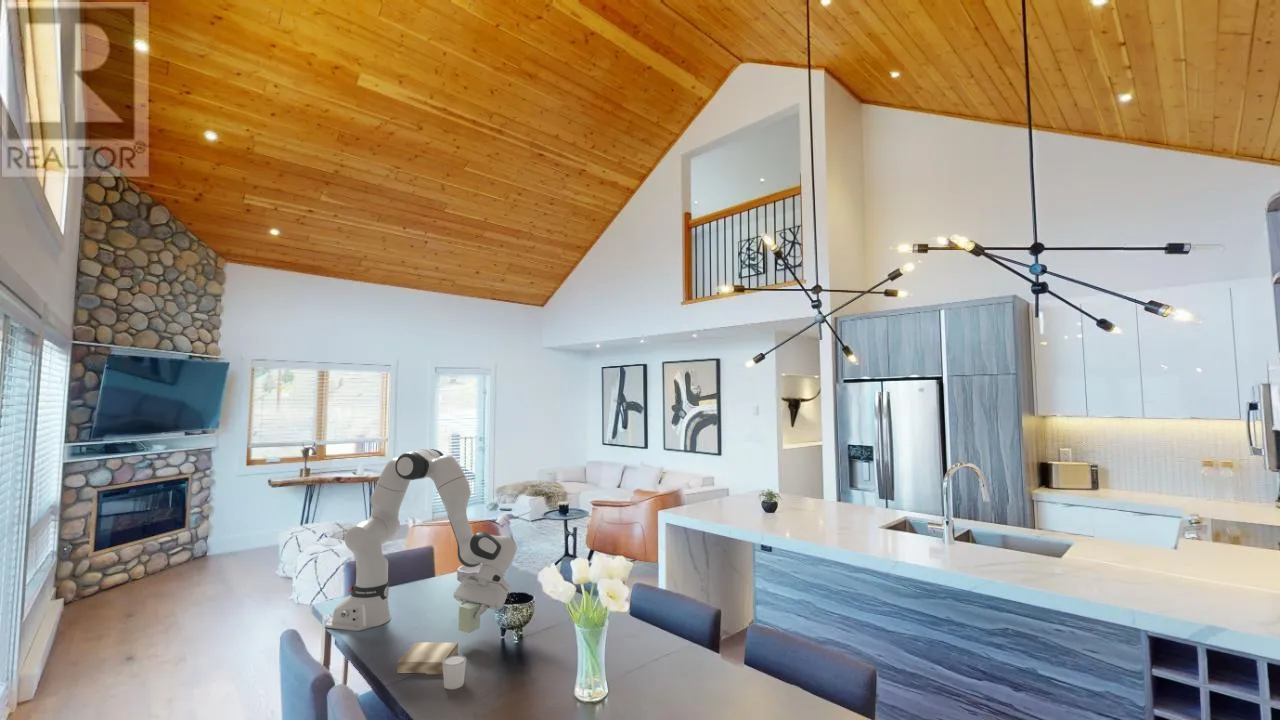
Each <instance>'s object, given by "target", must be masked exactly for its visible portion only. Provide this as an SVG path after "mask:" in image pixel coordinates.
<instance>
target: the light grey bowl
mask: <svg viewBox="0 0 1280 720" xmlns="http://www.w3.org/2000/svg"><path fill="white" fill-rule="evenodd" d="M482 566H483V564H482V563H480V564H479V565H478V566H475V567H466V566H464V565H463V564H462V565H460V566H459V567H458V568H457V570H456V571H457V573H456V580H457V581H458V583H459V582H460V583H461V582H462V581H463V580H464V579H465V578H466V577H469V576H473V577H476V576H477V575H478V573H479V571H480V569H481V567H482Z"/></svg>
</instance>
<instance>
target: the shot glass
mask: <svg viewBox="0 0 1280 720" xmlns="http://www.w3.org/2000/svg"><path fill="white" fill-rule="evenodd" d="M442 664H443V674H442V676H443V687H444V689H447V690H455V689H459V688H461V687H463V686H464V683H465V675H466V674H465V673H466V665H467V657H466V656H464V655H458V654H457V655H456V656H451V657H448V658H446V659H444V660H443V663H442Z"/></svg>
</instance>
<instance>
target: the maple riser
mask: <svg viewBox="0 0 1280 720" xmlns="http://www.w3.org/2000/svg"><path fill="white" fill-rule="evenodd" d="M458 649H459V642H434V641H433V642H432V641H431V642H427V641H425V642H423V641H422V642H421V641H420V642H417V641H416V642H415V643H414V644H413V645H412V646H411V648H410V649H408V650H407V651H406V652H405V653H404V655H403V656H401V658H399V660H398V661H397V663H396V664H397V666H396V667H397V669H396V674H397V673H401V672H402V673H426V674H425V675H443V674H442V673H443V664H442V663H443V660H444V659H446V658H448V657H451V656H457V655H458V653H459V651H458Z"/></svg>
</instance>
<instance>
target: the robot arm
mask: <svg viewBox="0 0 1280 720" xmlns="http://www.w3.org/2000/svg"><path fill="white" fill-rule="evenodd" d="M427 478H429V479H431V480H432V481H433V483H434V486H435V488H436V490H437V492H438V495H439V496H440V499H441V501H442V504H443V506H444V508H445V511H446V514H447V518H448V520H449V521H448V522H449V523H450V526H451V529H452V531H453V534H454V537H455V540H456V544H457V558H458V560H459V563H461V565H462V566H463V565H464V566H466V567H475V566H478V565H479V564H480V563H481V564H483V566H482V567H481V569H480V571H479V573H478V575H477V576H476V577H473V576H469V577H466V578H465V579H464V580H463V581H462V582H460V583H459V585H458V586H457V588H456V589H455V591H454V592H453V598H454V599H455V600H456V601H458V602H460V603H461V604H460V606H461V605H463V604H466V603H468V602H473V603H477V604H480V609H479V610H478V611H477V612H475V613H474V615H473V617H474V618H475V619H479V617H480V618H481V616H482V615H483V614H484V613H485V612H487V610H488V609H491V610H494V611H499V610H500V609H502V607H503V606H504V604H505V602H506V599H507V597H508V593H509V591H510V590H511V585H510V584H509V583H508V582H507V580H506V579H505V578H504V577H505V574H506V572H507V570H508V569H509V567H510V566H511V564H512V562H513V560H514V557H515V555H516V553H517V544H516V542H515V541H514V539H512V538H511V537H510V536H509V535H494V534H490V533H488V532H484V531H481V532H477V533H475V534H474V533H473V530H472V528H471V524H470V522H469V519H468V517H467V516H468V515H467V507H468V504H469V501H470V497H471V493H472V492H471V488H470V487H471V486H470V484H469V481H468V479H467V476H466V474H465V473H464V471H463V469H462V466H461V465H460V464H459V463H458V461H457V460H456V458H455V457H454V456H452V455H448V454H447V455H446V454H445V455H444V453H443V452H441V451H440V450H438V449H433V448H432V449H418V450H412V451H411V450H410V451H407V452H403V453H402V454H400V456H398V457H393V458H390V460H389V461H388V462H387V463H386V465H385V466H384V469H383V470H382V472H381V474H380V476H379V478H378V480H377V482H376V485H375V488H374V490H373V492H372V495H371V497H370V503H371V505H372V510H371V511H372V512H371V515H370V517H369V518H367V519H365V520H362V521H359V522H356V523H355V524H354V525H352V526H351V527H350V528H349V529H348V530H347V531H346V532H345V535H344V543H345V545H346V548H348V550H350V551H351V552H352V554H353V557H354V560H355V568H356V569H355V572H356V573H355V575H356V576H355V578H356V579H355V583H354V585H352V586H351V587H350V588H349V589H348V592H349V593H350V595H348V596H347V597H346V598H344V599H343V600H342V601H341V602H339V603H338V604H337V605H336V607H335V608H334V610H333V613H332V617H330V618H328V620H327V621H326V622H325V628H327V629H336V630H344V631H356V632H358V631H363V630H366V629H370V628H375V627H378V626H382V625H385V624H386V623H388V622H389V621H390V620H391V619H392V615H391V612H390V607H389V598H388V597H389V590H390V587H389V586H390V585H389V583H390V581H389V580H388V579H389V575H388V574H389V573H388V572H389V561H388V559H387V558H386V557H385V556H384V553H383V549H382V545H383V544H385V543H387V542H389V541H391V540H392V539H394V537H396V536H397V534H399V532H400V529H401V523H400V519H399V513H400V508H401V505H402V502H403V500H404V498H405V495H406V493H407V491H408V490H407V489H408V487H409V484H410V482H411V481H415V480H423V479H427Z"/></svg>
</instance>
